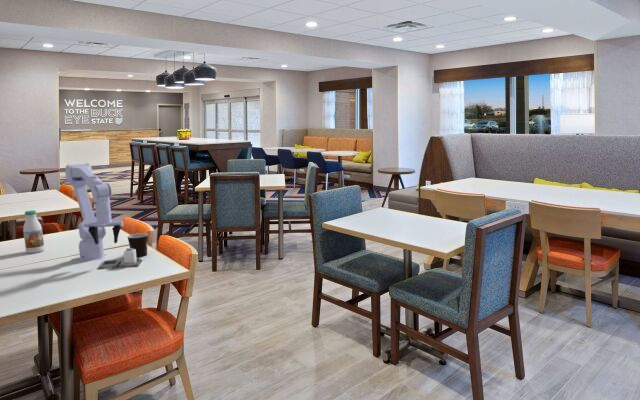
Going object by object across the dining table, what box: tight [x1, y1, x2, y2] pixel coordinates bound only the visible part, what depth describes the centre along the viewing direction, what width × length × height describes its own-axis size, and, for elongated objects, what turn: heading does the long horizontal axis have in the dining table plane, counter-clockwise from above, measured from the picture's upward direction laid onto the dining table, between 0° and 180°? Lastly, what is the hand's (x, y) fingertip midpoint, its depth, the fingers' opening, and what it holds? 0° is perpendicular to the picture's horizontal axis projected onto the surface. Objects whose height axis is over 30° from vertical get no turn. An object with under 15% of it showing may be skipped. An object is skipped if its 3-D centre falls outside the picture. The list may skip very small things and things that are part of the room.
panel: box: [97, 257, 143, 271], centre depth 199 cm, size 16×10×2 cm, turn 99°
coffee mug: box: [127, 232, 149, 259], centre depth 213 cm, size 12×9×10 cm
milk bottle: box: [22, 209, 45, 254], centre depth 222 cm, size 8×8×20 cm
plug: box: [123, 247, 138, 263], centre depth 199 cm, size 4×4×7 cm
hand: (106, 243), depth 198 cm, fingers open, 7 cm apart
